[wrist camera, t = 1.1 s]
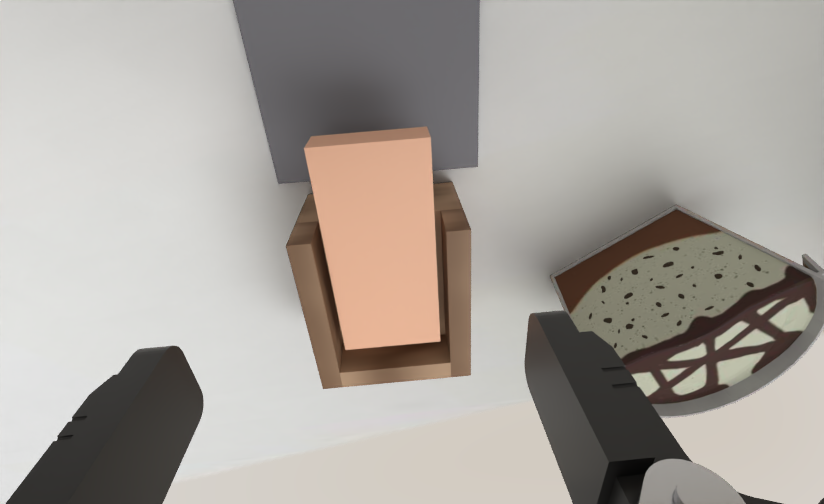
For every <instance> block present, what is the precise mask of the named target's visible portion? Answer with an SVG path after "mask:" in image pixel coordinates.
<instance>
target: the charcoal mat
mask: <svg viewBox="0 0 824 504" xmlns="http://www.w3.org/2000/svg"><path fill="white" fill-rule="evenodd" d="M233 3H234V7H235V11H236V15H237V19H238V23H239V27H240V31H241V35H242V39H243V43H244V47H245V51H246V55H247V59H248V63H249V67H250V71H251V75H252V79H253V83H254V87H255V91H256V95H257V99H258V103H259V107H260V111H261V115H262V119H263V123H264V127H265V131H266V135H267V139H268V143H269V147H270V151H271V155H272V159H273V163H274V167H275V171H276V175H277V179H278V183H279V184H282V183H294V182H305V181H311V180H310V175H309V170H308V166H307V161H306V156H305V151H304V147H305V146H306V144H307V142H308V141H309V139H310V137H311V136H321V135H332V134H344V133H356V132H368V131H379V130H391V129H403V128H415V127H426V126H427V128H428V131H429V134H430V136H431V151H432V171H433V170H444V169H456V168H467V167H478V95H479V3H480V0H233Z"/></svg>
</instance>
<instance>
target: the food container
mask: <svg viewBox="0 0 824 504" xmlns="http://www.w3.org/2000/svg"><path fill="white" fill-rule="evenodd" d="M802 259H803V266H802V265H800V264H798V263H795V262H793V261H791V260H789V259H787V258H785V257H783V256H781V255H779V254H777V253H775V252H773V251H771V250H769V249H767V248H765V247H763V246H761V245H759V244H756V243H754V242H752V241H750V240H748V239H746V238H744V237H742V236H740V235H738V234H736V233H734V232H732V231H730V230H728V229H726V228H724V227H722V226H720V225H717V224H715V223H713V222H711V221H709V220H707V219H705V218H703V217H701V216H699V215H697V214H695V213H693V212H691V211H689V210H687V209H685V208H683V207H680V206H678V205H675V206H673V207H671V208H670V209H668V210H666V211H664V212H662V213H661V214H659V215H657V216H655V217H654V218H652V219H650V220H648V221H646V222H645V223H643V224H641V225H639V226H638V227H636V228H634V229H632V230H630V231H629V232H627V233H625V234H623V235H622V236H620V237H618V238H616V239H614V240H613V241H611V242H609V243H607V244H606V245H604V246H602V247H600V248H598V249H597V250H595V251H593V252H591V253H590V254H588V255H586V256H584V257H582V258H581V259H579V260H577V261H575V262H574V263H572V264H570V265H568V266H566V267H565V268H563V269H561V270H559V271H557V272H556V273H554V274H552V275H550V277H551V280H552V282H553V285H554V287H555V289H556V292H557V294H558V297H559V299H560V302H561V304H562V306H563V309H564V311H566V312H567V313H568V314H569V316H570V318H571V319H572V321H573V323H574V324H575V326H576V327H577V329H578V331H579V332H587V331H593V332H594V333H595V334H597V335H598V336H599V337H600V338H602V339H603V340H604V341H606V342H607V343H608V344H610V345H611V346H612V347H613V348H614V350H615V351H616V353H617V354H618V356H619V357H620V359H621V360H622V361H623V363H624V364H625V367H626V370H629V372H630V373H631V375H632V376H633V378H634V379H635V381H636V382H637V386H638V387H640V388H641V389H642V391H643V392H644V394H645V395H646V397H647V398H648V400H649V401H650V403H651V404H652V406H653V407H654V408H655V410H656V411H657V413H658V414H659V416H660V417H661V418H671V417H684V416H690V415H695V414H701V413H705V412H708V411H712V410H715V409H718V408H721V407H724V406H727V405H729V404H732V403H735V402H737V401H739V400H741V399H743V398H745V397H747V396H749V395H752V394H753V393H755V392H757V391H759V390H760V389H762V388H764V387H766V386H767V385H769V384H770V383H771V382H773V381H774V380H776V379H777V378H778V377H780V376H782V375H783V374H784V373H785V372H786V371H788V370H789V369H790V368H791V367H792V366H793V365H795V364H796V363H797V362H798V361H799V359H801V358H802V356H804V355H805V353H806V352H807V351H808V350H809V349H810V347H811V346H812V345H813V344H814V342H815V341H816V340H817V339H818V337H819V335H820V334H821V332H822V330H823V328H824V270H823V269H822V268H821V267H820V266H819V265H818V264H817V263H816V262H815V261H813V260H812V259H811V258H810V257H809V256H808V255H807V254H804V255H802Z"/></svg>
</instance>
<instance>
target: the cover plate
mask: <svg viewBox="0 0 824 504" xmlns="http://www.w3.org/2000/svg"><path fill="white" fill-rule="evenodd" d="M304 151H305V156H306V161H307V166H308V170H309V175H310V180H311V185H312V190H313V195H314V200H315V204H316V209H317V214H318V219H319V224H320V229H321V233H322V238H323V243H324V248H325V253H326V258H327V263H328V267H329V272H330V277H331V282H332V287H333V292H334V297H335V301H336V306H337V311H338V316H339V321H340V326H341V331H342V335H343V340H344V345H345V350H351V349H362V348H373V347H384V346H395V345H406V344H417V343H428V342H439V341H440V321H439V300H438V279H437V257H436V236H435V215H434V194H433V173H432V151H431V136H430V134H429V131H428V128H427V126H426V127H415V128H403V129H391V130H379V131H368V132H356V133H344V134H332V135H321V136H311V137H310V139H309V141H308V142H307V144H306V146H305V147H304Z"/></svg>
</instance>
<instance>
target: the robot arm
mask: <svg viewBox="0 0 824 504" xmlns="http://www.w3.org/2000/svg"><path fill="white" fill-rule="evenodd" d="M525 374H526V379H527V384H528V387H529V390H530V393H531V395H532V398H533V400H534V403H535V406H536V408H537V411H538V413H539V416H540V419H541V421H542V424H543V426H544V429H545V432H546V434H547V437H548V439H549V442H550V444H551V447H552V450H553V453H554V455H555V457H556V460H557V463H558V466H559V468H560V470H561V473H562V476H563V479H564V481H565V484H566V486H567V489H568V491H569V494H570V497H571V499H572V502H573V504H782V503H777V502H773V501H768V500H764V499H759V498H754V497H750V496H747V495H744V494H741V493H738V492H737V491H736V490H735V489H734V488H733V487H732V486H731V485H730V484H729V483H727V482H726V481H725V480H724V479H723V478H721V477H720V476H719V475H717V474H716V473H714V472H712V471H711V470H709V469H707V468H705V467H703V466H701V465H699V464H696V463H693V462H692V461H691V460H690V459H689V458H688V456H687V455H686V454H685V452H684V451H683V450H682V448H681V447H680V445H679V444H678V442H677V441H676V439H675V438H674V436H673V435H672V433H671V432H670V431H669V429H668V428H667V426H666V425H665V423H664V422H663V420H662V419H661V417H660V416H659V414H658V413H657V411H656V410H655V408H654V407H653V406H652V404H651V403H650V401H649V400H648V398H647V397H646V395H645V394H644V392H643V391H642V389H641V388H640V387H638V386H637V382H636V381H635V379H634V378H633V376H632V375H631V373H630V372H629V370H626V367H625V364H624V363H623V361H622V360H621V359H620V357H619V356H618V354H617V353H616V351H615V350H614V348H613V347H612V346H611V345H610V344H608V343H607V342H606V341H604V340H603V339H602V338H600V337H599V336H598V335H597V334H595V333H594V332H593V331H587V332H579V331H578V329H577V327H576V326H575V324H574V323H573V321H572V319H571V318H570V316H569V314H568V313H567V312H566V311H563V310H562V311H552V312H541V313H532V314H530V316H529V321H528V332H527V343H526V353H525ZM202 412H203V394H202V391H201V389H200V387H199V385H198V383H197V380H196V378H195V376H194V374H193V372H192V370H191V368H190V366H189V364H188V362H187V360H186V358H185V356H184V353H183V352H182V350H181V349H180V348H179V347H177V346H166V347H155V348H144V349H139V350H137V351H136V352H135V353H134V354H133V355H132V356H131V357H130V359H129V360H128V362H127V363H126V364H125V366H124V367H123V368H122V370H121V371H120V372H119V374H118V375H113V376H112V377H110V378H109V379H108V380H107V381H106V382H104V383H103V384H102V385H101V386H100V387H98V388H97V389H96V390H95V391H93V392H92V393H91V394H90V395H89V396H88V397H87V399H86V400H85V401H84V402H83V404H82V405H81V406H80V408H79V409H78V410H77V412H76V413H75V414H74V415H73V417H72V421H71V422H68V423H67V425H66V426H65V427H64V428H63V430H62V431H61V432H60V434H59V435H58V436H57V437H58V440H57V441H53V443H52V444H51V445H50V447H49V448H48V449H47V451H46V452H45V453H44V454H43V456H42V457H41V458H40V460H39V461H38V462H37V464H36V465H35V466H34V467H33V469H32V470H31V471H30V473H29V474H28V475H27V477H26V478H25V479H24V480H23V482H22V483H21V484H20V486H19V487H18V488H17V490H16V491H15V492H14V493H13V495H12V496H11V497H10V499H9V500H8V501H7V502H6V504H162V503H163V501H164V499H165V497H166V494H167V492H168V490H169V488H170V486H171V483H172V481H173V479H174V477H175V474H176V472H177V470H178V468H179V466H180V463H181V461H182V459H183V457H184V455H185V452H186V450H187V448H188V446H189V443H190V441H191V439H192V437H193V435H194V432H195V430H196V428H197V426H198V424H199V421H200V419H201V416H202ZM818 504H824V498H823V499H822V500H821V501H820V502H819V503H818Z"/></svg>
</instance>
